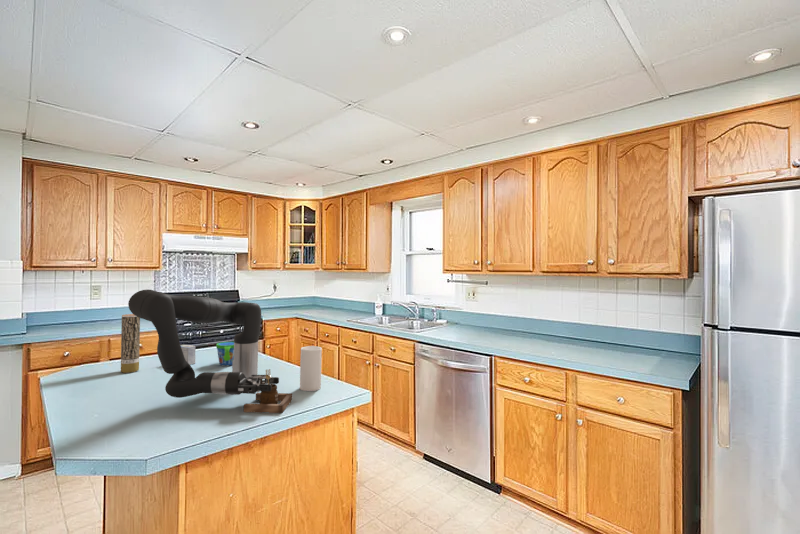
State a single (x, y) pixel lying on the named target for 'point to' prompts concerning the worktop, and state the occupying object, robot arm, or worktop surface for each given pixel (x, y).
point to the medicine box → (189, 353)
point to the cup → (310, 368)
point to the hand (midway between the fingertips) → (275, 384)
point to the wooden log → (130, 343)
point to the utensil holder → (269, 393)
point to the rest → (270, 408)
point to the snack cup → (225, 353)
